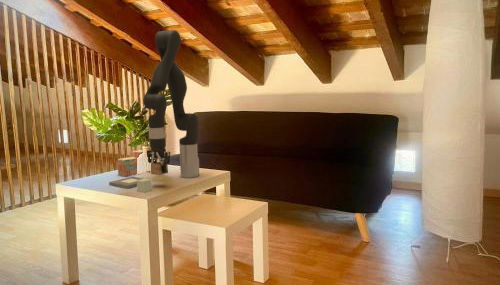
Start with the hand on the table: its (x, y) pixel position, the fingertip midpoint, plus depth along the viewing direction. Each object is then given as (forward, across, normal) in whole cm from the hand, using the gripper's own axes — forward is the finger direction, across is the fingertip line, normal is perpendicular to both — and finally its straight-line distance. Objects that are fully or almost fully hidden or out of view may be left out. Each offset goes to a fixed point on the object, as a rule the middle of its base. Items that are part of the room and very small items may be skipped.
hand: (159, 172), depth 186 cm
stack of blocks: (+8, +33, -15) cm, 37 cm away
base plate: (+7, +16, +5) cm, 18 cm away
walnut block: (+1, 0, 0) cm, 1 cm away
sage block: (+7, 0, +10) cm, 12 cm away
